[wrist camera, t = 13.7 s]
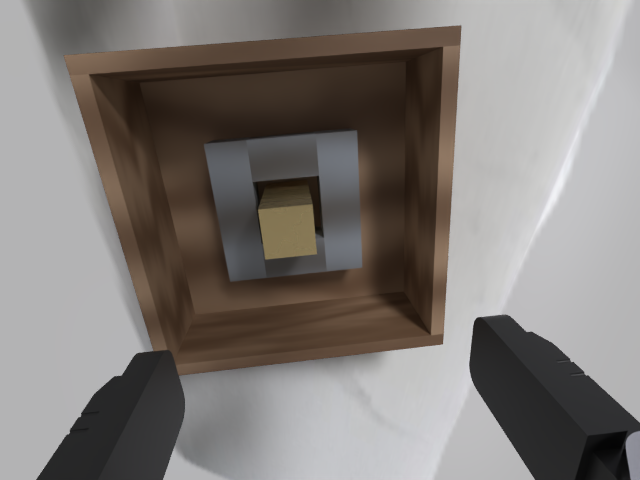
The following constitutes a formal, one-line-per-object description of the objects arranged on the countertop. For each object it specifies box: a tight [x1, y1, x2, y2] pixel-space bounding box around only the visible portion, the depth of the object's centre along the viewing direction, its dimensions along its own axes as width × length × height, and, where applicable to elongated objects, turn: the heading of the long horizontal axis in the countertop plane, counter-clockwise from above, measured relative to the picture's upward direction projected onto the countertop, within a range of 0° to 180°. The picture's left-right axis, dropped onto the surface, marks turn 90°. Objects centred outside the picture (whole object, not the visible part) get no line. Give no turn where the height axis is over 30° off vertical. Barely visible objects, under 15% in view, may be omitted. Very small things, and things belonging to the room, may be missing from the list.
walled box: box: [64, 26, 461, 375], centre depth 27 cm, size 22×22×8 cm
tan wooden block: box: [258, 180, 317, 260], centre depth 26 cm, size 3×3×8 cm
